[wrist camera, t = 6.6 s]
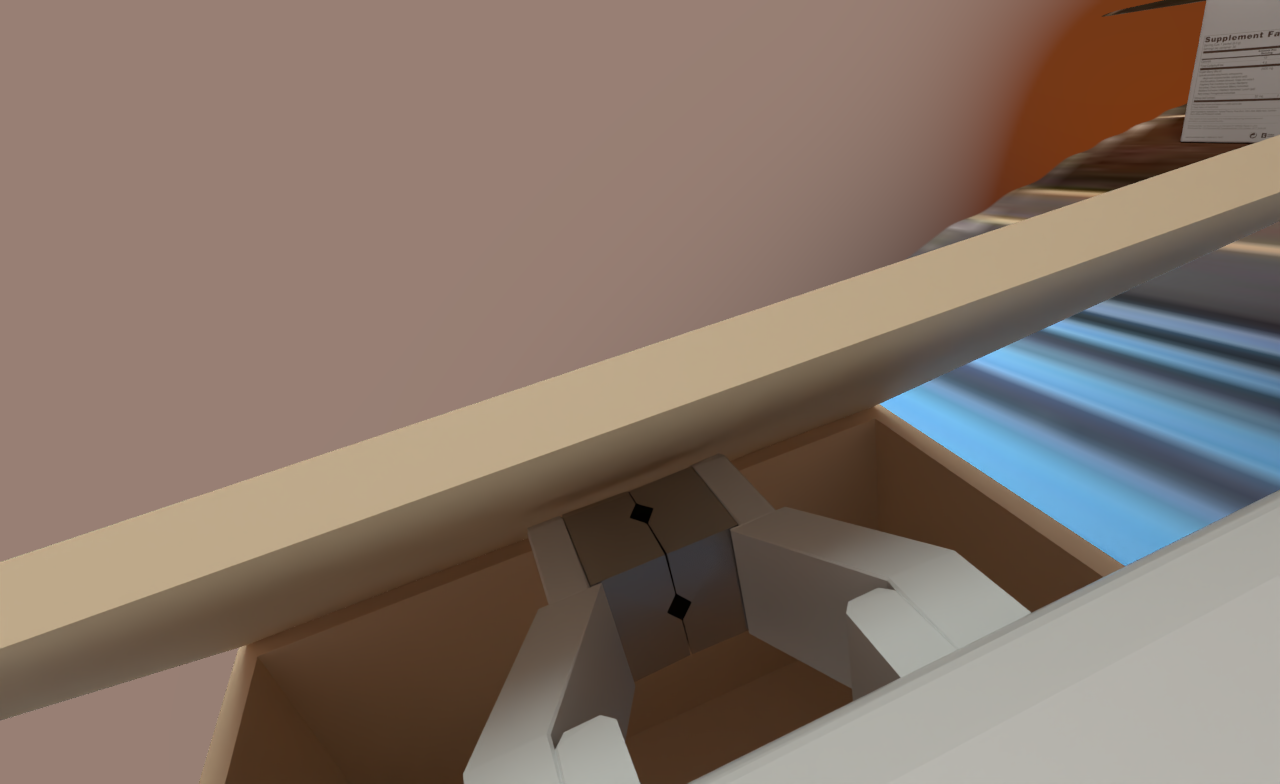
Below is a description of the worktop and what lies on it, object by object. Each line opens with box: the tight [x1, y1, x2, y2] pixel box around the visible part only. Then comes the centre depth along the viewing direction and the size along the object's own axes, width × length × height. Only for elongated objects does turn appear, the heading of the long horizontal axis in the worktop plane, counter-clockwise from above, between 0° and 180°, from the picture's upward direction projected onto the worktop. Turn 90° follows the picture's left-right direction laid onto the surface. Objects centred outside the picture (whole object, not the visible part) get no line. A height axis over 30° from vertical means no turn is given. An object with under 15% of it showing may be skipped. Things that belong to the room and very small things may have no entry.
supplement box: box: [1181, 0, 1280, 143], centre depth 65 cm, size 9×9×15 cm
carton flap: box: [0, 135, 1280, 720], centre depth 12 cm, size 15×20×1 cm
